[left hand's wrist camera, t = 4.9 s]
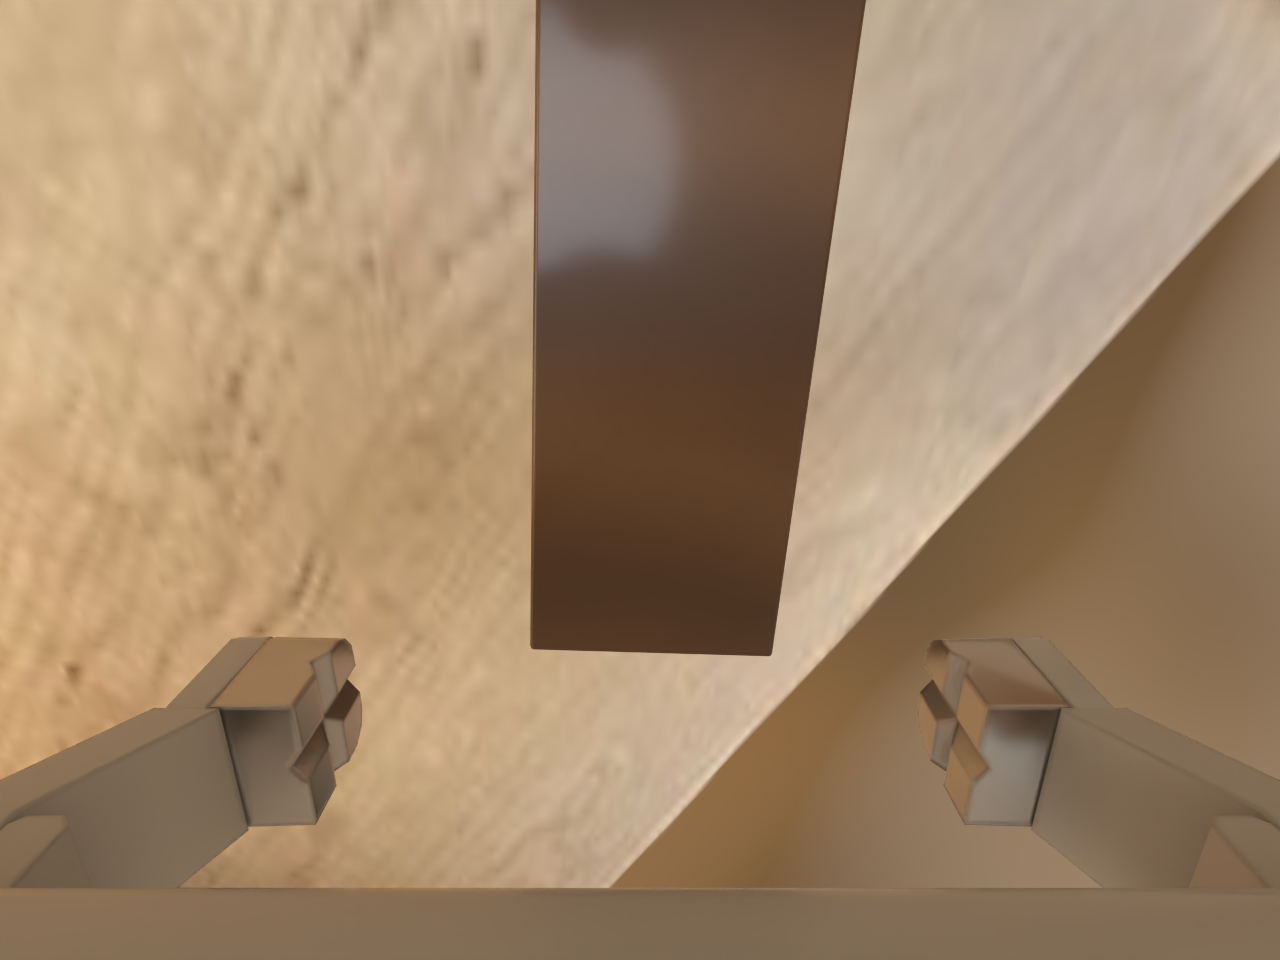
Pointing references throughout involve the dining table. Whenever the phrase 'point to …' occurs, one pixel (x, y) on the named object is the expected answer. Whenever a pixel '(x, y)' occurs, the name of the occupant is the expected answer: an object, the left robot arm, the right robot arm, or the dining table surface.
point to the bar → (677, 309)
